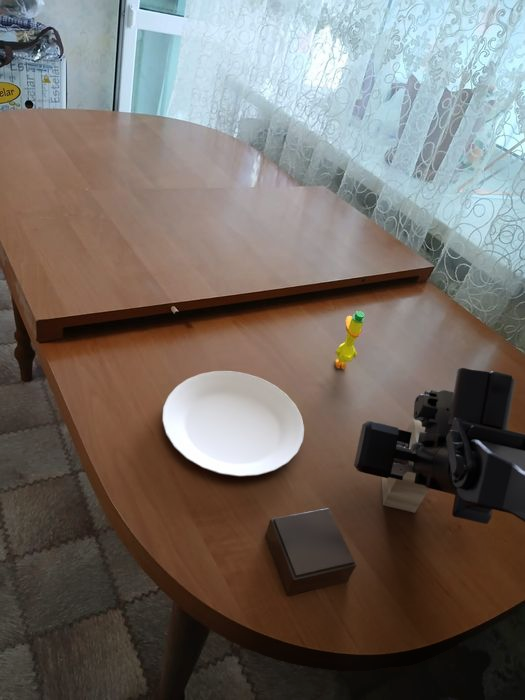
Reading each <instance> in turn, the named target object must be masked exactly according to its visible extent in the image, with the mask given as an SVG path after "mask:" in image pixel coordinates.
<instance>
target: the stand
mask: <svg viewBox="0 0 525 700" xmlns="http://www.w3.org/2000/svg"><path fill="white" fill-rule="evenodd" d="M264 536H265V539H266V542H267V545H268V547H269V550H270V554H271V555H272V559H273V561H274V565H275V567H276V569H277V573H278V575H279V577H280V580H281V583H282V585H283V590H284V591H285V595H286V596H287V597H289V596H294V595H297V594H302V593H305V592H310V591H315V590H318V589H321V588H326V587H330V586H333V585H337V584H338V585H339V584H342V583H346V582H349V580H350V579H351V577H352V575H353V573H354V571H355V569H356V567H357V564H356V562H355V559H354V557H353V555H352V553H351V551H350V549H349V547H348V545H347V543H346V541H345V539H344V537H343V534H342V532H341V531H340V528H339V526H338V524H337V522H336V520H335V518H334V516H333V514H332V512H331V510H330V508H329V507H327V508H320V509H316V510H311V511H305V512H300V513H294V514H290V515H289V514H288V515H284V516H279V517H274V518H270V519H269V523H268V526H267V528H266V532H265V534H264Z"/></svg>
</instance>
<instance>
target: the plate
mask: <svg viewBox="0 0 525 700" xmlns="http://www.w3.org/2000/svg"><path fill="white" fill-rule="evenodd" d="M161 421H162V424H163V428H164V431H165V435H166V436H167V438H168V440H169V441H170V442H171V445H173V447H174V448H175V449H176V450H177V452H179V453H180V454H181V455H182V456H183V457H184V458H186V460H188V461H190V462H192V463H193V464H195V465H197V466H199V467H201V468H203V469H204V470H205V469H206V470H208V471H211V472H214V473H217V474H219V475H220V474H221V475H226V476H233V477H253V476H260V475H263V474H267V473H270V472H274V471H276V470H278V469H280V468H282V467H283V466H285V465H287V464H288V463H289V462H290V461H291V460H292V459H293V458H294V457H295V456H296V455H297V454H298V452H299V451H300V448H301V445H302V444H303V442H304V435H305V426H304V422H303V421H304V420H303V415H302V414H301V412H300V410H299V408H298V406H297V404H296V403H295V402H294V401H293V400H292V399H291V397H289V395H288V394H287V393H286V392H284V391H283V390H282V389H280V388H279V387H278V386H277V385H275V384H273V383H271V382H270V381H267V380H265V379H264V378H261V377H259V376H255V375H253V374H252V375H251V374H249V373H247V372H246V373H245V372H239V371H233V370H215V371H209V372H203V373H202V372H201V373H199V374H197V375H194V376H191V377H189V378H186V379H185V380H183V381H182V382H181V383H179V384H178V385H176V387H174V389H173V390H172V391H171V392H170V393H169V394H168V395H167V398H166V400H165V403H164V405H163V407H162V420H161Z"/></svg>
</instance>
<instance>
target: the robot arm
mask: <svg viewBox="0 0 525 700" xmlns="http://www.w3.org/2000/svg"><path fill="white" fill-rule="evenodd" d="M515 386H516V379H514V378H513V376H512V375H511V374H508V373H503V372H498V371H486V370H479V369H477V370H476V369H470V368H466V367H460V368H457V372H456V378H455V382H454V388H453V391H450V390H446V389H445V390H443V389H441V390H439V391H438V390H433V389H431V390H430V391H428V390H425V391H424V393H420V394H418V395H417V396H416V397H415V400H414V405H413V416H412V418H413V417H414V419H415V420H419V421H420V422H421V423H422V427H425V432H420V434H419V439H418V443H422V445H421V444H417V443H413V445H412V451H414V450H415V452H416V454H414V453H410V452H411V449H409V445H410V440H411V434H412V432H408V431H407V430H403V429H399V427H397V426H393V425H390V424H385V423H381V422H377V421H372V420H367V421H365V422H364V423H362V425H361V429H360V435H359V439H358V444H357V449H356V453H355V457H354V458H355V459H354V462H353V466H354V467H355V469H356V471H358V472H360V473H363V474H367V475H371V476H375V477H379V478H383V477H384V478H388V477H390V478H394V479H398V480H403V475H405V474H406V473H407V472H412V473H416V476H415V481H414V483H416V484H419V485H424V486H426V487H427V488H430V489H429V490H434V491H438V492H443V493H446V494H450V495H453V496H454V500H453V505H452V512H451V514H452V517H454V518H457V519H458V518H459V519H463V520H467V521H472V522H474V523H475V522H476V523H480V524H485V525H488V524H489V523H490V521H491V519H492V516H493V510H495V511H499V512H503V513H508V514H510V515H513V516H515V518H518V519H519V520H521V521H522V522H524V523H525V433H523V432H518V431H513V430H509V422H510V417H511V416H510V415H511V411H512V404H513V399H514V393H515ZM409 461H411V462H414V464H413V466H412V464H410V465H409V463H408V462H409ZM437 700H459V699H458V698H453V697H448V696H445V697H441V698H438V699H437Z"/></svg>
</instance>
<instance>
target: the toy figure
mask: <svg viewBox="0 0 525 700" xmlns="http://www.w3.org/2000/svg"><path fill="white" fill-rule="evenodd" d="M365 316H366V314H365V313H364V311H361V310H356V311H355V313H354V314H352V315H348V316H346V318H345V330H346V337H345V339H344V340H345V341H344V342H343V343H340V344H339V347H338V348H337V349H336V350H335V355H336V357H337V359H335V361H334V365H335V367H336V369H342V370H345V369H346V365H347V364H348V363H350V362H352V360H353V358H354V359H356V358H357V356H358V351H357V350H356V348H355V346H354V344H355V343H356V341H357V339H358V338H359V337H360V336H361V333H362V331H363V328H362V327H363V324H364V322H365Z"/></svg>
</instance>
